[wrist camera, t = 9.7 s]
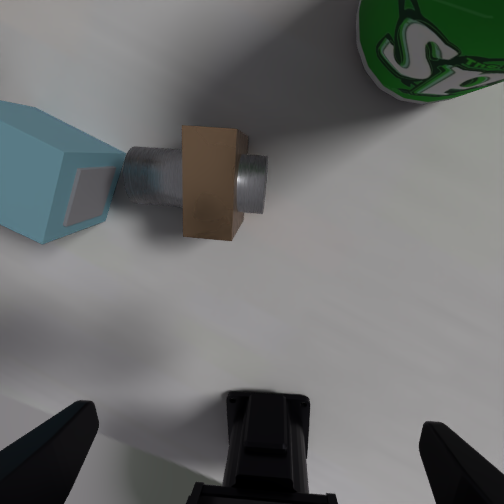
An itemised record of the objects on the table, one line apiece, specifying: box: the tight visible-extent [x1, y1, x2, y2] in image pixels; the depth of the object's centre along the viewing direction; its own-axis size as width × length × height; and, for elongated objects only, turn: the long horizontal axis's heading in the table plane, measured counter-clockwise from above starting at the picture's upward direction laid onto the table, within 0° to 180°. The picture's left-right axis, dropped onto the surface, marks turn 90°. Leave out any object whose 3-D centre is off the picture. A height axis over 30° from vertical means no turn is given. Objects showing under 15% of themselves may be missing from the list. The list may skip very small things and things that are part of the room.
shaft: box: [123, 125, 268, 241], centre depth 15 cm, size 7×5×5 cm
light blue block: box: [0, 100, 126, 244], centre depth 16 cm, size 6×5×6 cm
